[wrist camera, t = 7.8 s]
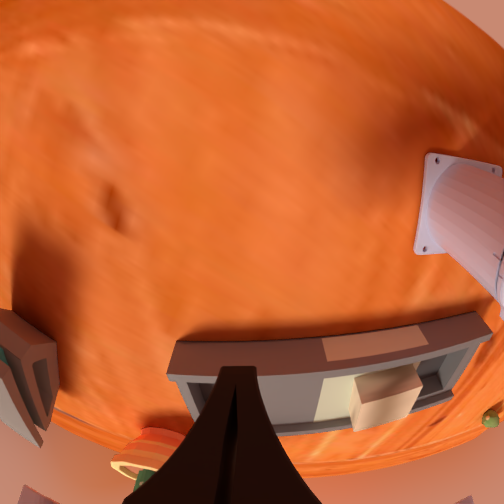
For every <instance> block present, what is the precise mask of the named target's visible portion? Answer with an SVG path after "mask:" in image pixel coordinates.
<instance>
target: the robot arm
mask: <svg viewBox="0 0 504 504" xmlns="http://www.w3.org/2000/svg"><path fill="white" fill-rule="evenodd" d="M436 158H437V162H435V159H436ZM424 247H425V249H424V250H423V248H424ZM414 252H415V253H416V254H417V255H425V254H439V253H448V254H449V255H450V256H452V257H453V258H454V259H455V260H456V261H457V262H458V263H459V264H460V265H461V266H462V267H464V268H465V269H466V270H467V271H468V272H469V273H470V274H471V275H472V276H473V277H474V278H475V279H476V280H477V281H478V282H479V283H480V284H481V285H482V286H483V287H484V288H485V289H486V290H487V291H488V292H489V293H490V294H491V295H492V296H493V297H494V298H495V299H496V300H497V302H499V303H500V306H501V312H500V317H501V318H502V319H503V321H504V178H502V168H501V167H500V166H498V165H494V164H489V163H485V162H481V161H476V160H471V159H466V158H461V157H455V156H450V155H444V154H437V153H431V152H430V153H427V154H426V156H425V166H424V178H423V189H422V198H421V206H420V213H419V220H418V226H417V232H416V237H415V243H414ZM18 504H59V503H58V502H56V501H54V500H52V499H50V498H48V497H45V496H44V495H42V494H40V493H38V492H37V491H35V490H33V489H32V488H30V487H28V486H27V485H24V486H23V489H22V492H21V495H20V498H19V502H18ZM122 504H322V503H321V502H320V501H319V500H318V498H317V497H316V496H315V495H314V493H313V492H312V491H311V490H310V489H309V487H308V486H307V484H306V483H305V482H304V480H303V479H302V477H301V476H300V474H299V473H298V471H297V470H296V469H295V467H294V466H293V464H292V462H291V461H290V459H289V457H288V456H287V454H286V452H285V450H284V449H283V447H282V445H281V443H280V441H279V439H278V437H277V435H276V433H275V431H274V428H273V426H272V424H271V422H270V419H269V417H268V414H267V411H266V408H265V406H264V403H263V400H262V396H261V393H260V389H259V384H258V379H257V367H255V366H222V367H221V368H220V371H219V374H218V377H217V379H216V382H215V384H214V387H213V389H212V391H211V393H210V396H209V398H208V399H207V401H206V403H205V405H204V407H203V409H202V411H201V413H200V415H199V416H198V418H197V420H196V421H195V423H194V425H193V426H192V428H191V429H190V431H189V432H188V434H187V435H186V437H185V438H184V440H183V441H182V442H181V444H180V445H179V446H178V448H177V449H176V450H175V451H174V453H173V454H172V455H171V456H170V457H169V459H168V460H167V461H166V462H165V463H164V464H163V465H162V466H161V467H160V468H159V469H158V470H157V471H156V472H155V473H154V474H153V475H152V476H151V477H150V478H149V479H148V480H147V481H146V482H145V483H144V484H142V485H141V486H140V487H139V488H137V489H136V490H135V491H134V492H133V493H131V494H130V495H129V496H127V497H126V498H125V499H124V501H123V503H122ZM455 504H474V503H473V499H472V496H468V497H466V498H464V499H462V500H460V501H458V502H457V503H455Z"/></svg>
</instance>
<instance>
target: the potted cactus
mask: <svg viewBox="0 0 504 504" xmlns="http://www.w3.org/2000/svg"><path fill="white" fill-rule="evenodd" d="M185 437H186V436H184V435H182V434H180V433H177V432H174V431H170V430H167V429H164V428H155V427H148V428H143V429H142V430H141V436H139V437H138V438H136V439H134V440H133V441H131V442H129V444H128V445H127V446H126V447H125V448H124V450H123V451H122V452H121V453H120V454H116V455H114V457H113V458H112V460H111V466H112V468H114V469H115V470H117V471H119V472H120V473H122V474H123V475H125V476H127V477H129V478H132V479H134V480H136V483H135V486H134V490H133V492H134V491H135V490H136V489H137V488H139V487H140V486H141V485H142V484H144V483H145V482H146V481H147V480H148V479H149V478H150V477H151V476H152V475H153V474H154V473H155V472H156V471H157V470H158V469H159V468H160V467H161V466H162V465H163V464H164V463H165V462H166V461H167V460H168V459H169V457H170V456H171V455H172V454H173V453H174V451H175V450H176V449H177V448H178V446H179V445H180V444H181V442H182V441H183V440H184V438H185Z"/></svg>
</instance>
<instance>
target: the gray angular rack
mask: <svg viewBox="0 0 504 504" xmlns="http://www.w3.org/2000/svg"><path fill="white" fill-rule="evenodd" d="M59 385H60V380H59V370H58V358H57V342H56V341H54V340H53V339H51V338H49V337H48V336H46V335H45V334H43V333H42V332H41V331H39V330H38V329H36V328H35V327H33V326H32V325H31V324H29V323H28V322H26V321H25V320H24V319H22V318H21V317H20V316H18V315H17V314H16V313H14V312H13V311H12V310H6V309H1V308H0V419H1V421H2V422H4V423H5V424H6V425H8V426H9V427H10V428H11V429H13V430H14V431H15V432H17V433H18V434H20V435H21V436H23V437H24V438H25V439H27V440H28V441H30V442H31V443H33V444H35V445H36V446H38V447H39V448H41V446H42V444H43V440H42V438H41V436H40V434H39V432H38V431H37V429H36V427H35V425H37V426H38V427H40V428H41V429H43V430H45V431H46V430H47V428H48V426H49V424H50V422H51V417H52V413H53V408H54V404H55V400H56V396H57V392H58V389H59ZM34 424H35V425H34Z"/></svg>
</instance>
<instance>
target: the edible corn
mask: <svg viewBox="0 0 504 504" xmlns="http://www.w3.org/2000/svg"><path fill="white" fill-rule="evenodd" d="M482 424H484V425H485V427H497V426H498V425H499V417H498V414H497V413H496V411H494V410H488V411H487V412H486V413H484V414H483V417H482Z"/></svg>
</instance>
